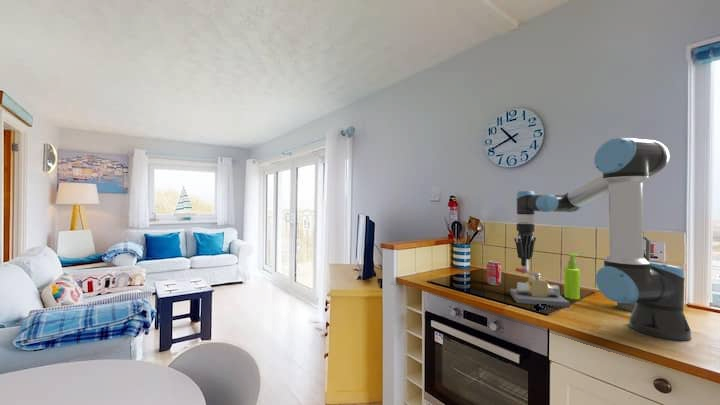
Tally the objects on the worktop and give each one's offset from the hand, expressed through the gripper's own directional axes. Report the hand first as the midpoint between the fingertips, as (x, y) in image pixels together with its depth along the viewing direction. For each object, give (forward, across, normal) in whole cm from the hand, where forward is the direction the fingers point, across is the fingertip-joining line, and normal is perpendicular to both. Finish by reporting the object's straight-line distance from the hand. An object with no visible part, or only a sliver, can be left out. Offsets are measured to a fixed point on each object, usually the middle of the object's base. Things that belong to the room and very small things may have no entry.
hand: (525, 272), depth 150 cm
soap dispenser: (+10, -15, +14) cm, 23 cm away
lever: (0, +3, +4) cm, 4 cm away
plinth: (+10, +4, +9) cm, 14 cm away
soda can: (+10, 0, -18) cm, 21 cm away
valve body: (+9, +4, +9) cm, 13 cm away
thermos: (+10, -20, +33) cm, 40 cm away
